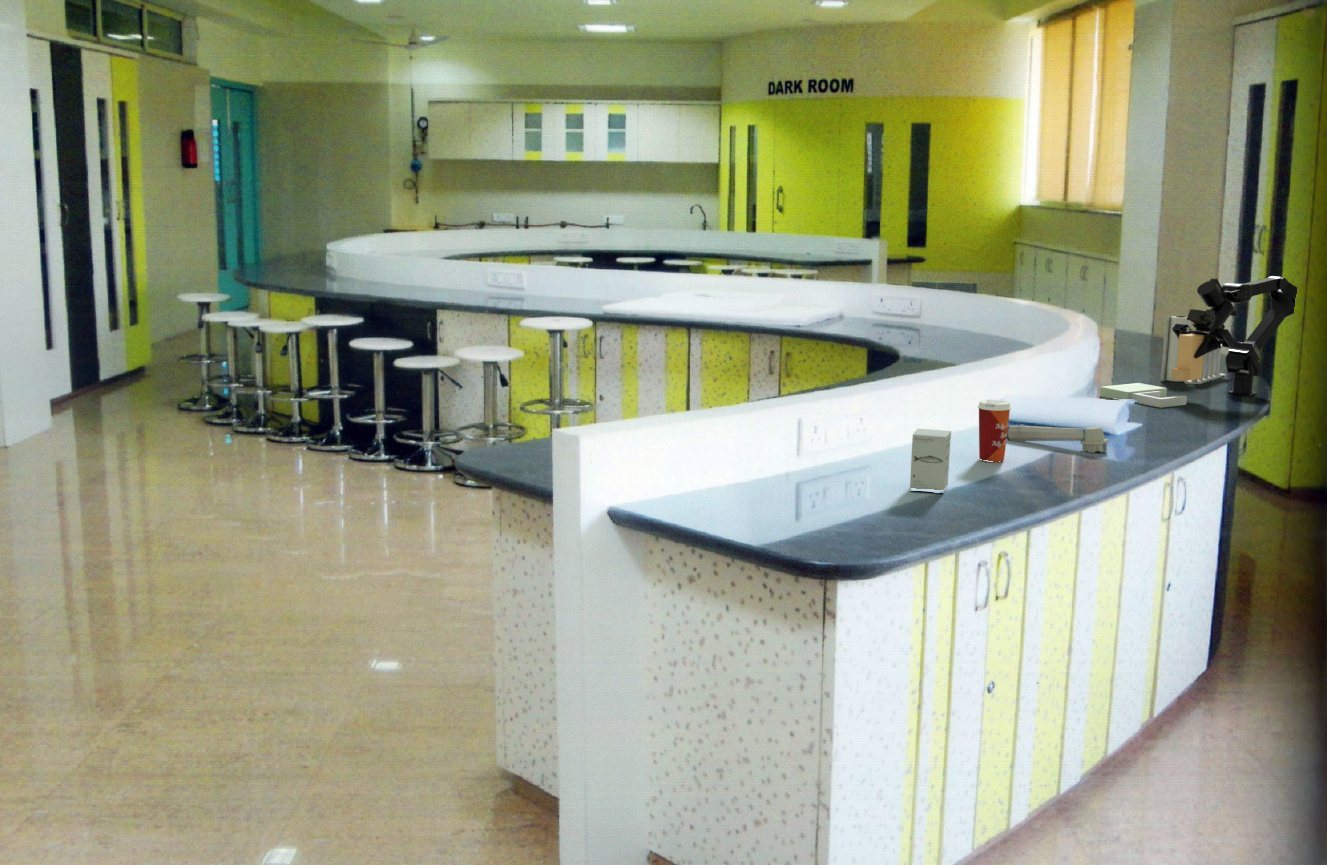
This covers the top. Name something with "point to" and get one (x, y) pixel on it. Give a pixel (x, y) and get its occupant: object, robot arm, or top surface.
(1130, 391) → the cream stepped slab
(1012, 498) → the top surface
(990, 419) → the paper cup
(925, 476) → the supplement box
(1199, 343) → the tan footed upright block
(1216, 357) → the test tube rack
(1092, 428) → the grey piece
